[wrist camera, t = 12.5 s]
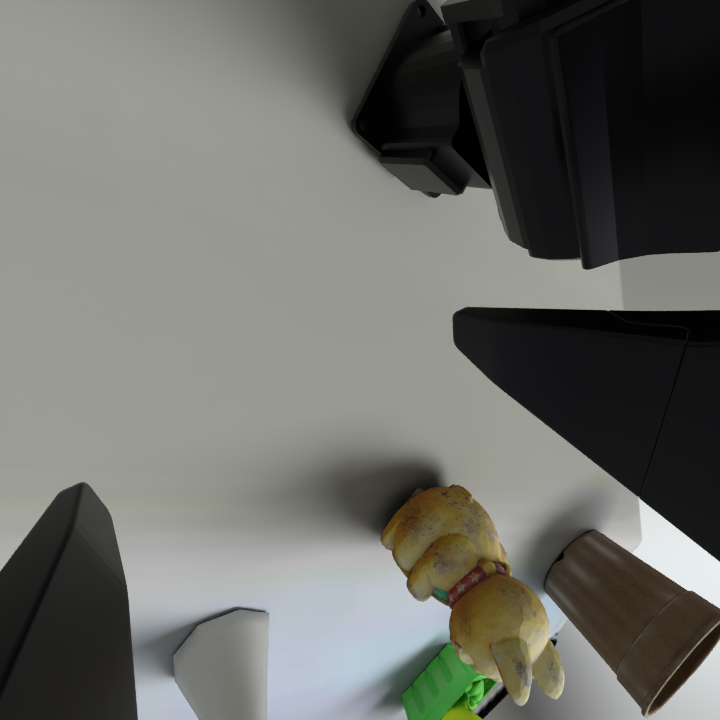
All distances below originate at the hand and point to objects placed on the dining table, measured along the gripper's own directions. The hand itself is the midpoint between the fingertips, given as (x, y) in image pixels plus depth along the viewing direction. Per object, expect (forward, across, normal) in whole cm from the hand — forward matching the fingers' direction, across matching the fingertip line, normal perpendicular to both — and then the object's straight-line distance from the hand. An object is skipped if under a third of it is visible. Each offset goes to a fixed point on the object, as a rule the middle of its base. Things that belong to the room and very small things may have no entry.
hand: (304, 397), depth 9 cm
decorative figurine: (+13, -10, +25) cm, 30 cm away
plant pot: (+12, -35, +57) cm, 68 cm away
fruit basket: (+13, -9, +57) cm, 59 cm away
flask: (+13, +8, +27) cm, 31 cm away
